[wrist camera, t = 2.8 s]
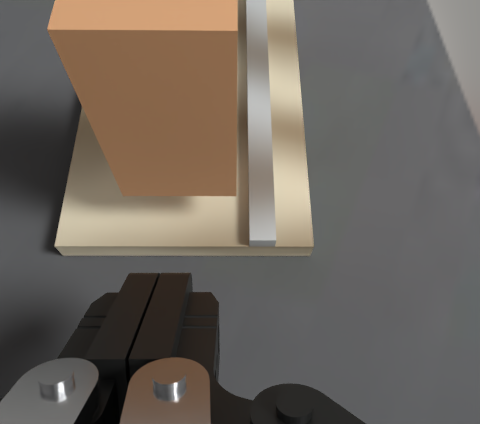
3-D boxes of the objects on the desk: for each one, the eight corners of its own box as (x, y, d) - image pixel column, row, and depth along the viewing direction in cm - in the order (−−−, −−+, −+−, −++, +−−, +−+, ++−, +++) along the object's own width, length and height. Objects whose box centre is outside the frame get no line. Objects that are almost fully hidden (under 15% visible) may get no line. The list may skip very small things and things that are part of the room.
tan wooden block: (236, 218, 18) (237, 31, 10) (133, 218, 18) (47, 29, 9) (236, 135, 19) (237, -82, 11) (143, 134, 19) (77, -84, 11)
